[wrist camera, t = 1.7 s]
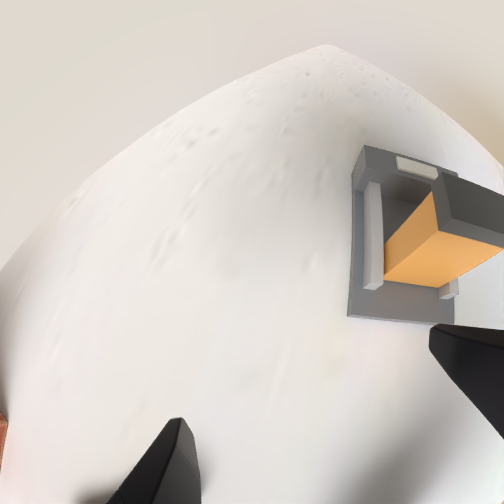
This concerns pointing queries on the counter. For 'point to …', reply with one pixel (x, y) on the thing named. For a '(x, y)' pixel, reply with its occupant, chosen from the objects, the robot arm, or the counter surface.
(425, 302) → the base
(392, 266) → the handle
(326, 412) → the counter surface
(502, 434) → the robot arm
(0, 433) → the brown case
